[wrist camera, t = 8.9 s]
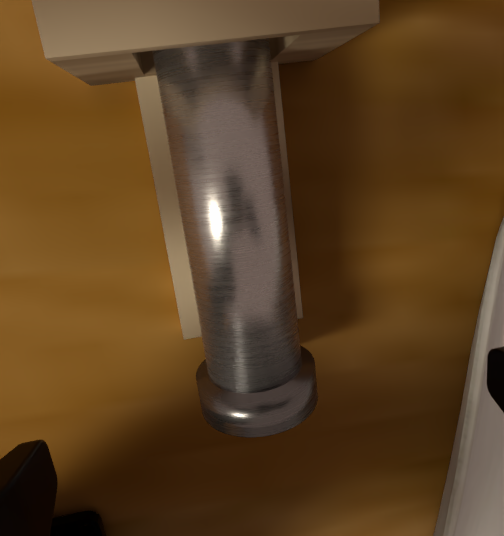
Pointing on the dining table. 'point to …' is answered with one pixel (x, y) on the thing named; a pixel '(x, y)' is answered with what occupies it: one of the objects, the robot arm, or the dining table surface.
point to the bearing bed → (187, 35)
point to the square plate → (479, 427)
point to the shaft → (236, 235)
